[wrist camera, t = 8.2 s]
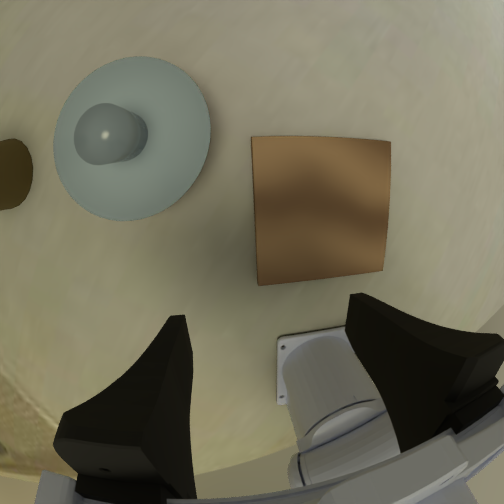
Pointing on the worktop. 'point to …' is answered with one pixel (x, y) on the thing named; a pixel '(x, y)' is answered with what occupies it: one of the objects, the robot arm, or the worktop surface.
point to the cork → (14, 173)
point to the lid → (132, 138)
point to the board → (319, 206)
